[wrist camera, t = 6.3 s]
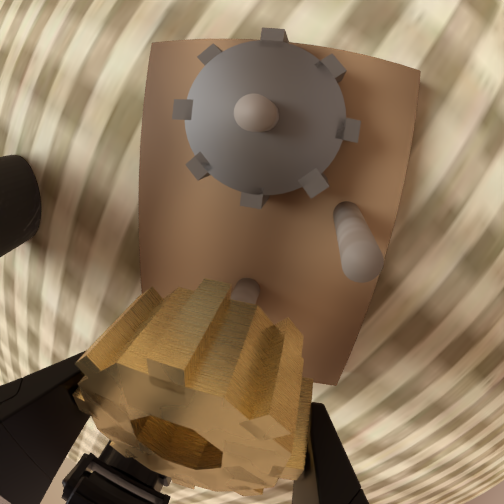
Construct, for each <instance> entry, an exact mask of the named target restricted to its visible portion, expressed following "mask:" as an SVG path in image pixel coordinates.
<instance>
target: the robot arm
mask: <svg viewBox="0 0 504 504" xmlns="http://www.w3.org/2000/svg"><path fill="white" fill-rule="evenodd" d="M86 351H87V350H86ZM86 351H84V352H82V353H79V354H77V355H75V356H72V357H70V358H68V359H65V360H63V361H61V362H58V363H56V364H53V365H51V366H49V367H46V368H44V369H42V370H39V371H37V372H34V373H32V374H30V375H27V376H25V377H23V378H20V379H17V380H15V381H12V382H9V383H7V384H4V385H1V386H0V504H40V502H41V501H42V499H43V497H44V495H45V493H46V491H47V490H48V488H49V486H50V484H51V482H52V480H53V478H54V477H55V475H56V473H57V471H58V469H59V468H60V466H61V464H62V463H63V461H64V459H65V457H66V456H67V454H68V452H69V451H70V449H71V447H72V446H73V444H74V442H75V440H76V439H77V437H78V435H79V434H80V432H81V430H82V429H83V427H84V425H85V424H86V422H87V421H88V419H89V417H90V415H88V414H86V413H84V412H82V411H81V410H79V408H78V406H77V404H76V402H75V399H74V397H73V395H72V394H73V393H74V392H75V391H76V389H77V388H78V387H79V386H78V383H79V382H80V380H81V379H82V378H83V377H84V376H85V374H84V373H83V372H82V371H81V370H80V369H79V368H78V367H77V366H76V365H75V363H76V362H77V361H78V360H79V358H80V357H81V356H82V355H83V354H84V353H85V352H86ZM110 443H111V440H109V442H108V444H107V445H106V447H105V448H104V450H103V451H102V453H101V455H100V456H99V458H97V457H95V455H94V454H92V453H90V454H89V455H88V454H85V453H84V454H83V456H82V457H81V459H80V460H79V462H78V463H77V465H76V466H75V467H74V468H73V469H72V470H71V472H70V473H69V474H68V475H67V476H66V477H65V478H64V480H63V481H62V484H63V487H64V490H63V495H62V498H63V499H64V500H65V501H67V502H66V504H168V503H169V500H170V496H168V495H166V494H165V495H164V494H162V493H160V491H161V489H162V487H163V485H164V486H166V487H167V486H169V484H170V482H171V480H172V478H171V477H168V476H165V475H162V474H160V473H157V472H154V471H152V470H150V469H148V468H147V467H145V466H144V465H143V464H141V463H140V462H138V461H137V460H136V459H134V458H126V457H125V456H123V455H122V454H121V453H119V452H118V451H117V450H115V449H114V448H113V447H112V446H110ZM91 470H92V471H93V473H90V471H91ZM292 504H369V502H368V500H367V498H366V496H365V494H364V492H363V489H361V485H360V483H359V481H358V479H357V476H356V474H355V472H354V470H353V468H352V465H351V463H350V461H349V459H348V456H347V454H346V452H345V450H344V448H343V445H342V443H341V441H340V439H339V437H338V434H337V432H336V430H335V428H334V425H333V423H332V421H331V419H330V417H329V414H328V412H327V410H326V408H325V406H324V404H322V403H315V402H312V403H311V404H310V415H309V425H308V436H307V450H306V458H305V466H304V471H303V472H302V474H301V475H300V477H299V478H298V479H297V480H294V484H293V495H292Z"/></svg>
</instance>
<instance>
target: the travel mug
mask: <svg viewBox="0 0 504 504" xmlns="http://www.w3.org/2000/svg"><path fill="white" fill-rule="evenodd" d="M40 217H41V201H40V194H39V189H38V185H37V181H36V178H35V176H34V173H33V171H32V169H31V167H30V166H29V164H28V163H27V162H26V161H25V160H24V159H23V158H22V157H20V156H17V155H9V156H3V157H0V257H1V256H3V255H5V254H6V253H8V252H10V251H11V250H13V249H15V248H16V247H18V246H19V245H21V244H23V243H24V242H26V241H28V240H29V239H30V238H32V237H33V236H34V235H35V233H36V231H37V229H38V227H39V223H40Z"/></svg>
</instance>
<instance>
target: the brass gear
mask: <svg viewBox="0 0 504 504" xmlns="http://www.w3.org/2000/svg"><path fill="white" fill-rule="evenodd" d="M231 287H232V284H230V283H225V282H221V281H216V280H211V279H207V278H204V280H203V281H202V282H201V284H200V285H199V286H198V288H197V289H196V290H195V291H194V290H189V289H185V288H181V287H178V288H177V289H175V290H174V291H172V292H171V293H170V294H168V295H167V296H165V297H164V298H162V297H161V296H160V295H159V294H158V292H157V291H156V290H155V289H154V288H153V286H152V287H151V288H149V289H148V290H147V291H146V292H144V293H143V294H142V295H140V296H139V297H138V298H137V299H136V300H135V301H134V302H133V303H132V304H131V305H130V306H129V307H128V308H127V309H126V310H125V311H124V312H123V313H122V314H121V315H120V316H119V317H118V318H117V319H116V320H115V321H114V322H113V323H112V325H111V326H110V327H109V328H108V329H107V330H106V331H105V332H104V333H103V334H102V335H101V336H100V337H99V338H98V339H97V340H96V341H95V342H94V343H93V344H92V346H91V347H90V348H89V349H88V350H87V351H86V352H85V353H84V354H83V355H82V356H81V357H80V358H79V360H78V361H77V362H76V363H75V365H76V366H77V367H78V368H79V369H80V370H81V371H82V372H83V373H84V374H85V376H84V377H83V378H82V379H81V380H80V382H79V383H78V386H79V387H78V388H77V389H76V391H75V392H74V393H73V394H72V395H73V397H74V399H75V402H76V404H77V406H78V408H79V410H81V411H82V412H84V413H86V414H88V415H90V416H92V418H93V420H94V423H95V425H96V427H97V429H98V430H99V431H100V432H101V433H103V434H104V435H105V436H106V437H107V438H109V439H110V440H111V443H110V446H112V447H113V448H114V449H115V450H117V451H118V452H119V453H121V454H122V455H123V456H125V457H126V458H134V459H136V460H137V461H138V462H140V463H141V464H143V465H144V466H145V467H147V468H148V469H150V470H152V471H154V472H157V473H160V474H162V475H165V476H168V477H171V478H172V482H173V483H176V484H179V485H182V486H185V487H188V488H191V489H194V487H195V486H198V487H202V488H205V489H209V490H212V491H235V492H236V493H238V494H240V495H242V496H252V495H262V493H263V489H264V488H270V487H274V486H275V484H276V482H277V481H278V479H279V478H283V479H289V480H297V479H298V478H299V477H300V475H301V474H302V472H303V471H304V466H305V458H306V450H307V436H308V425H309V415H310V404H311V400H312V388H313V379H311V378H305V377H302V373H303V363H304V359H303V358H302V357H301V356H302V347H303V337H304V336H303V335H302V334H301V332H300V331H299V330H298V329H297V327H296V326H295V325H294V324H293V322H292V321H291V320H290V319H289V317H288V318H286V319H284V320H282V321H280V322H278V323H277V324H275V325H274V324H273V322H272V321H271V320H270V319H269V318H268V316H267V315H266V314H265V313H264V312H263V310H262V309H261V308H260V307H259V306H258V305H256V304H252V303H247V302H242V301H238V300H233V299H230V298H231Z"/></svg>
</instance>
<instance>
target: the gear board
mask: <svg viewBox="0 0 504 504" xmlns="http://www.w3.org/2000/svg"><path fill="white" fill-rule="evenodd" d="M420 72H421V71H419V70H416V69H413V68H410V67H407V66H404V65H400V64H397V63H394V62H390V61H386V60H383V59H379V58H375V57H371V56H367V55H362V54H358V53H353V52H349V51H344V50H338V49H333V48H327V47H321V46H314V45H307V44H300V43H291V42H289V41H288V38H287V35H286V32H285V29H275V28H262V32H261V39H260V40H253V39H193V40H177V41H165V42H155V43H152V45H151V52H150V58H149V65H148V72H147V80H146V88H145V97H144V107H143V118H142V130H141V145H140V166H139V252H140V272H141V288H142V294H143V293H144V292H146V291H147V290H148V289H149V288H151V287H152V286H153V288H154V289H155V290H156V291H157V292H158V294H159V295H160V296H161V297H162V298H164V297H165V296H167V295H168V294H170V293H171V292H172V291H174V290H175V289H177V288H178V287H181V288H185V289H189V290H194V291H195V290H196V289H197V288H198V286H199V285H200V284H201V282H202V281H203V280H204V278H207V279H211V280H216V281H221V282H225V283H230V284H232V287H231V298H230V299H233V300H238V301H242V302H247V303H252V304H256V305H258V306H259V307H260V308H261V309H262V310H263V312H264V313H265V314H266V315H267V316H268V318H269V319H270V320H271V321H272V322H273V324H274V325H275V324H277V323H278V322H280V321H282V320H284V319H286V318H288V317H289V319H290V320H291V321H292V322H293V324H294V325H295V326H296V327H297V329H298V330H299V331H300V332H301V334H302V335H303V336H304V337H303V347H302V356H301V357H302V358H303V359H304V363H303V373H302V377H305V378H311V379H313V382H315V383H321V384H328V385H334V386H336V385H337V383H338V381H339V379H340V376H341V374H342V372H343V370H344V367H345V365H346V363H347V360H348V358H349V356H350V353H351V351H352V348H353V346H354V344H355V341H356V339H357V336H358V334H359V331H360V328H361V326H362V323H363V321H364V318H365V315H366V312H367V310H368V307H369V304H370V301H371V298H372V296H373V293H374V290H375V287H376V284H377V281H378V278H379V275H380V272H381V271H382V268H383V265H384V259H385V255H386V252H387V248H388V245H389V241H390V238H391V234H392V231H393V227H394V223H395V219H396V215H397V211H398V207H399V203H400V199H401V194H402V190H403V185H404V181H405V176H406V171H407V166H408V161H409V155H410V150H411V144H412V138H413V132H414V125H415V118H416V110H417V102H418V93H419V83H420Z"/></svg>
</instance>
